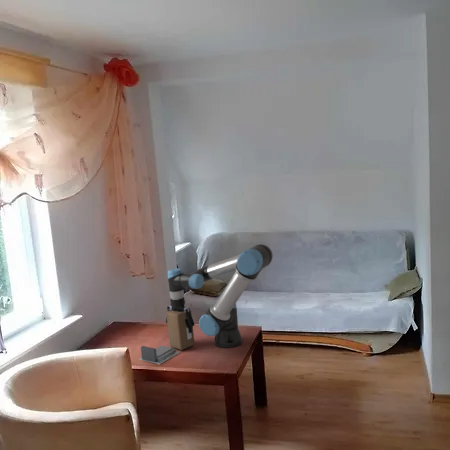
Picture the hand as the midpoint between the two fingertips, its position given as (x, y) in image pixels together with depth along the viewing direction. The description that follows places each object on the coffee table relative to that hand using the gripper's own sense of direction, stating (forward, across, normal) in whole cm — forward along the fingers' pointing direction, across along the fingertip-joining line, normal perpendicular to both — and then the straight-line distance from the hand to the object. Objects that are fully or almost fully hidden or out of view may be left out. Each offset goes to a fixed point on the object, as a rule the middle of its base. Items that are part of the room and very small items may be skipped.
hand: (181, 337), depth 293 cm
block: (+5, 0, 0) cm, 5 cm away
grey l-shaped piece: (+6, +3, +14) cm, 16 cm away
